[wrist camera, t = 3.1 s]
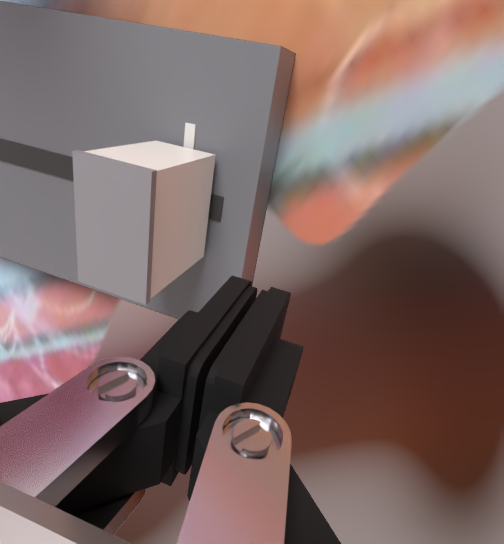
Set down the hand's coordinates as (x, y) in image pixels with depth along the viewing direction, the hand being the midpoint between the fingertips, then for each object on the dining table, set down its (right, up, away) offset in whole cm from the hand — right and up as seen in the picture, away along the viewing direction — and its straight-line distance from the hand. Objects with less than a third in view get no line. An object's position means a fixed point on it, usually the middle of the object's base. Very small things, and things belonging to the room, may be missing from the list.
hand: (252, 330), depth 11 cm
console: (-10, +8, +12) cm, 18 cm away
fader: (-3, +5, +8) cm, 10 cm away
